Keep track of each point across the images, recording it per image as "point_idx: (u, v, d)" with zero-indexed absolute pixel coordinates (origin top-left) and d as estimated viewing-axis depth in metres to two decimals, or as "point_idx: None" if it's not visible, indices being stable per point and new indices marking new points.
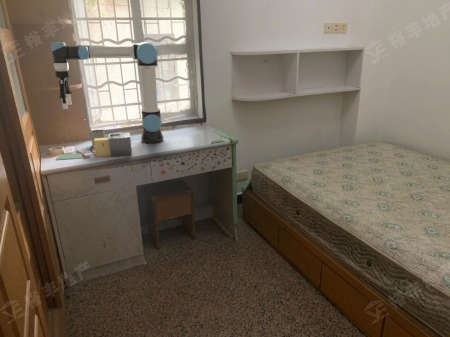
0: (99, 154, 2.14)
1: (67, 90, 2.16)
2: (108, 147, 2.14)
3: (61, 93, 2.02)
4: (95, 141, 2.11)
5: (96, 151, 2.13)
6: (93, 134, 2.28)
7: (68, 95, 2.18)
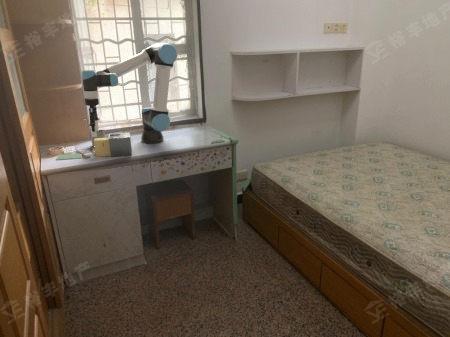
0: (99, 154, 2.14)
1: (95, 117, 2.14)
2: (108, 147, 2.14)
3: (91, 121, 2.00)
4: (95, 141, 2.11)
5: (96, 151, 2.13)
6: None
7: (96, 121, 2.16)
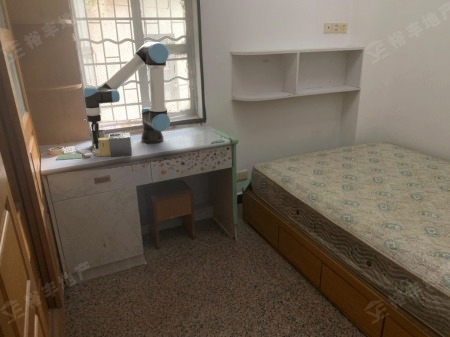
0: (99, 154, 2.14)
1: None
2: (108, 147, 2.14)
3: (94, 140, 2.07)
4: None
5: None
6: None
7: None
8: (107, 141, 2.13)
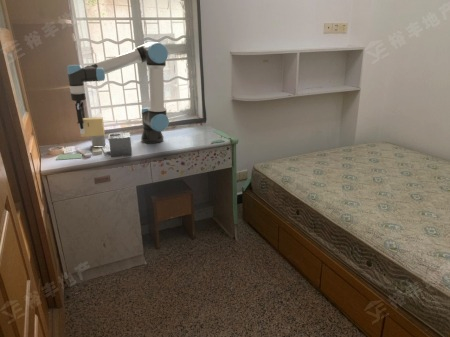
0: (84, 134, 2.08)
1: None
2: (93, 127, 2.08)
3: (79, 119, 2.01)
4: None
5: None
6: None
7: None
8: (92, 121, 2.07)
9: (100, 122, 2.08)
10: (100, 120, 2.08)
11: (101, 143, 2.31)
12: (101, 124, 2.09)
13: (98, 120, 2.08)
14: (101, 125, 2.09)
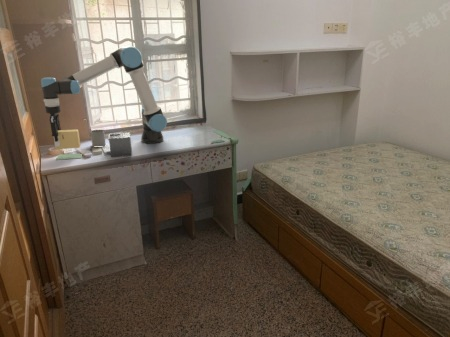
0: (59, 147, 2.07)
1: (57, 127, 2.08)
2: (68, 139, 2.07)
3: (53, 132, 2.00)
4: None
5: None
6: (93, 134, 2.28)
7: None
8: (67, 133, 2.06)
9: (75, 135, 2.07)
10: (75, 133, 2.07)
11: (101, 143, 2.31)
12: (76, 136, 2.08)
13: (73, 133, 2.07)
14: (76, 137, 2.08)
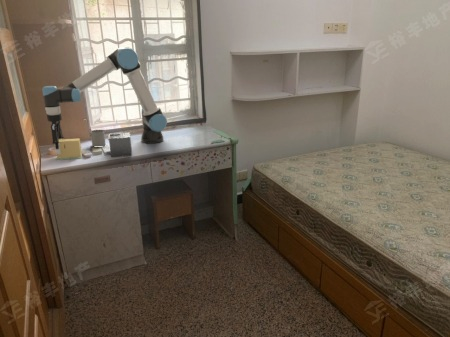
0: (61, 156, 2.09)
1: (59, 134, 2.11)
2: (70, 149, 2.09)
3: (54, 139, 2.00)
4: None
5: None
6: (93, 134, 2.28)
7: None
8: (69, 143, 2.08)
9: (77, 144, 2.09)
10: (76, 142, 2.09)
11: (101, 143, 2.31)
12: (78, 146, 2.10)
13: (74, 142, 2.09)
14: (78, 147, 2.10)
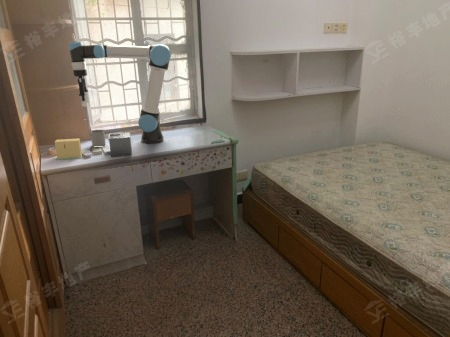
0: (61, 156, 2.09)
1: (84, 88, 2.23)
2: (70, 149, 2.09)
3: (80, 91, 2.10)
4: (56, 142, 2.06)
5: (57, 153, 2.08)
6: (93, 134, 2.28)
7: (85, 93, 2.25)
8: (69, 143, 2.08)
9: (77, 144, 2.09)
10: (76, 142, 2.09)
11: (101, 143, 2.31)
12: (78, 146, 2.10)
13: (74, 142, 2.09)
14: (78, 147, 2.10)
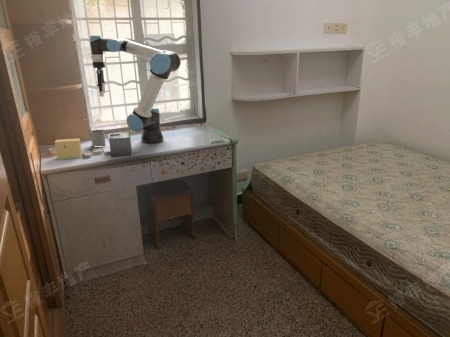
0: (61, 156, 2.09)
1: (102, 80, 2.36)
2: (70, 149, 2.09)
3: (98, 82, 2.22)
4: (56, 142, 2.06)
5: (57, 153, 2.08)
6: (93, 134, 2.28)
7: (102, 84, 2.38)
8: (69, 143, 2.08)
9: (77, 144, 2.09)
10: (76, 142, 2.09)
11: (101, 143, 2.31)
12: (78, 146, 2.10)
13: (74, 142, 2.09)
14: (78, 147, 2.10)
